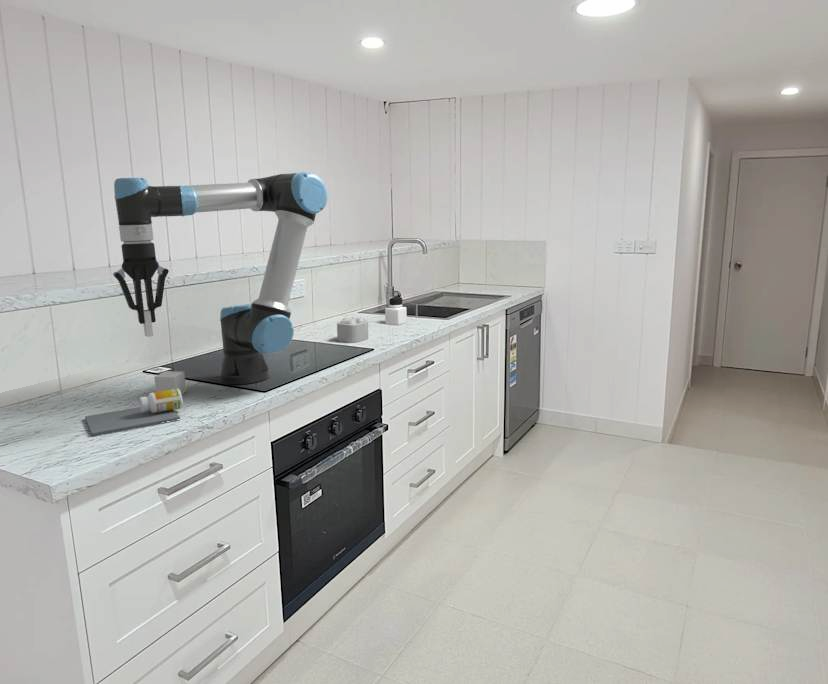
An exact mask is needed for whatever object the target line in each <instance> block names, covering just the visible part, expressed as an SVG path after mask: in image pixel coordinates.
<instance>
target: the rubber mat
mask: <svg viewBox="0 0 828 684" xmlns="http://www.w3.org/2000/svg"><path fill="white" fill-rule="evenodd" d="M84 419H85V422H86V424H87V427H88V428H89V429H88V430H89V431H90V434H91V436H92V437H97V435H99V436H102V435H101V434H104V435H107V434H106V433H109V434H113V433H112V432H115V433H118V432H117V431H120V432H123V430H125V431H129V430H128V429H131V430H133V429H132V428H136V429H140V428H139V427H141V428H144V427H143V426H147V425H152V424H157V423H162V422H167V421H173V420H177V419H180V420H181V417H180V415H179V414H178V413H177V412H176V411H175V410H170V411H164V412H159V413H152V412H151V411H148V412H143V413H142V412H141V409H140V406H138V407H137V406H136V407H131V408H126V409H121V410H115V411H108V412H102V413H97V414H91V415H90V414H89V415H85V416H84ZM173 422H174V421H173ZM162 424H163V423H162ZM157 425H158V424H157ZM152 426H153V425H152ZM147 427H148V426H147Z"/></svg>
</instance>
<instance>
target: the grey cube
mask: <svg viewBox="0 0 828 684" xmlns="http://www.w3.org/2000/svg"><path fill="white" fill-rule="evenodd" d="M185 374H186V373H185V371H173V370H171V371H169V370H165V371H163V372H161V373H159V374H157V375H154V377H153V379H154V388H155V389H154V390H155V392H158V391H165V390H171V389H179V390H180V392H181V395H182V394H184V393H185V392H187V384H186V375H185Z"/></svg>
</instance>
